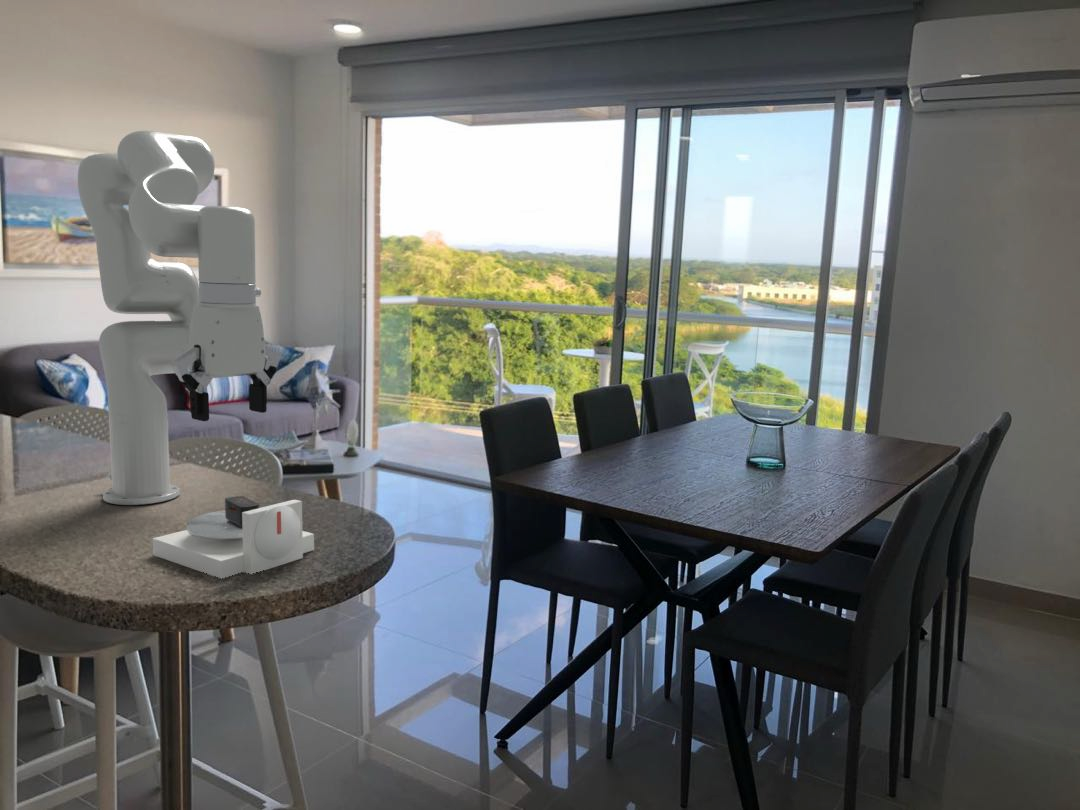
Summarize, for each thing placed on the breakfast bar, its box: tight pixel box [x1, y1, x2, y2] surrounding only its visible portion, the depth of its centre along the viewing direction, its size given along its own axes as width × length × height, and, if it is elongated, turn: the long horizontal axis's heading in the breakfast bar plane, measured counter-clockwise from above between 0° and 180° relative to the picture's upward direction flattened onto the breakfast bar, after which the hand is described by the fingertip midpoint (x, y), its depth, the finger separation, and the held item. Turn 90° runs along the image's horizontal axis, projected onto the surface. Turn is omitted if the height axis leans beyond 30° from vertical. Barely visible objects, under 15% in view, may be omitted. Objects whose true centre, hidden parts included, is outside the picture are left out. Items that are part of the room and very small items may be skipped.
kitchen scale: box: [152, 499, 315, 580], centre depth 128 cm, size 18×16×9 cm
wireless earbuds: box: [224, 495, 260, 527], centre depth 127 cm, size 5×7×3 cm, turn 42°
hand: (230, 415), depth 126 cm, fingers open, 9 cm apart
